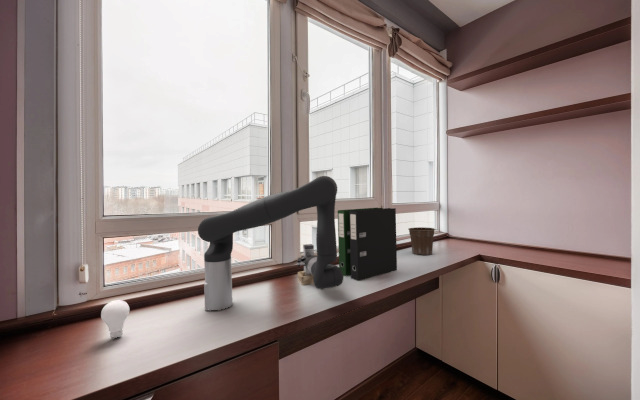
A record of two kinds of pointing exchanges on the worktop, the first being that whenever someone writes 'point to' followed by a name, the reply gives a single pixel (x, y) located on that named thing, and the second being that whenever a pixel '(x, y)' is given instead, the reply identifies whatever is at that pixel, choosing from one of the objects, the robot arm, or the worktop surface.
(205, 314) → the worktop surface
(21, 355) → the worktop surface
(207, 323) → the worktop surface
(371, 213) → the lever arch files
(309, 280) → the holder
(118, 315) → the light bulb
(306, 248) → the grey rectangular block
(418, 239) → the plant pot
